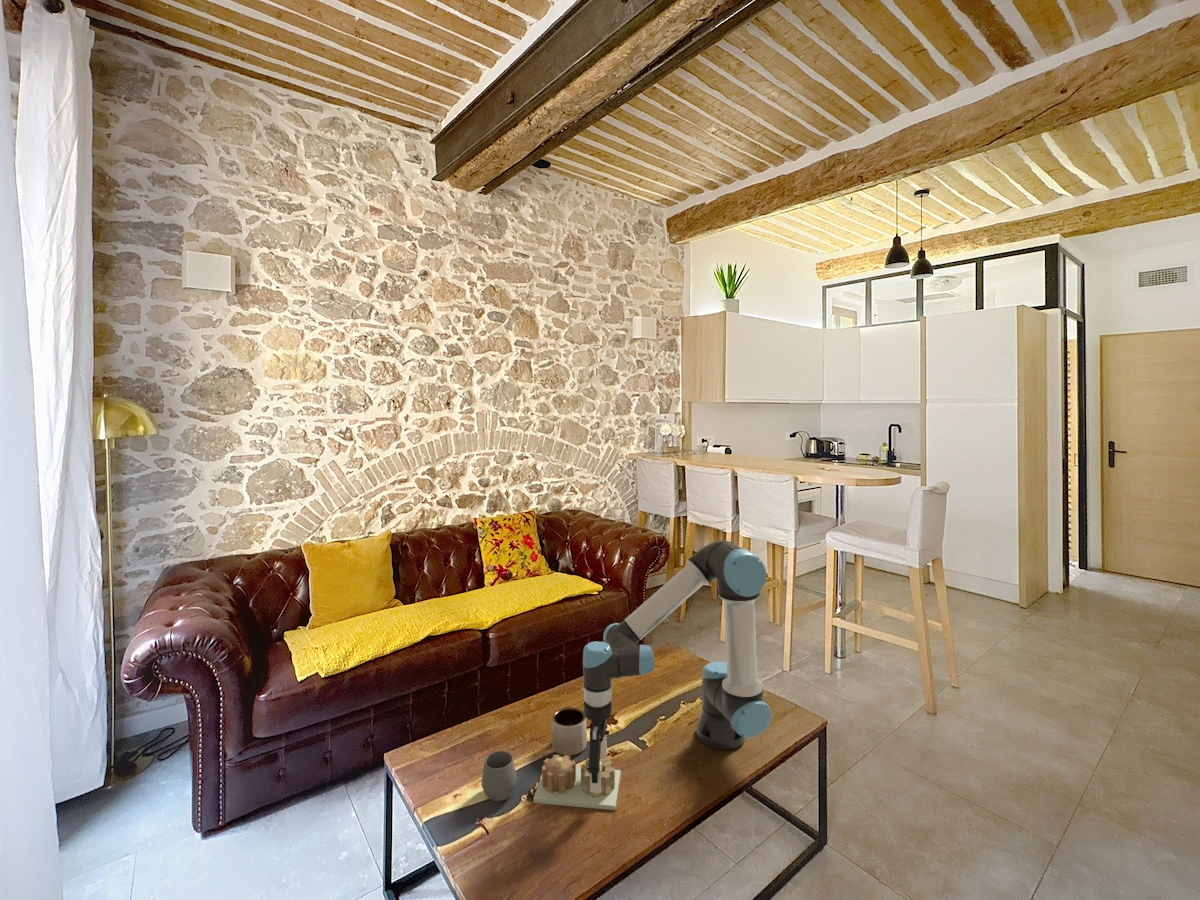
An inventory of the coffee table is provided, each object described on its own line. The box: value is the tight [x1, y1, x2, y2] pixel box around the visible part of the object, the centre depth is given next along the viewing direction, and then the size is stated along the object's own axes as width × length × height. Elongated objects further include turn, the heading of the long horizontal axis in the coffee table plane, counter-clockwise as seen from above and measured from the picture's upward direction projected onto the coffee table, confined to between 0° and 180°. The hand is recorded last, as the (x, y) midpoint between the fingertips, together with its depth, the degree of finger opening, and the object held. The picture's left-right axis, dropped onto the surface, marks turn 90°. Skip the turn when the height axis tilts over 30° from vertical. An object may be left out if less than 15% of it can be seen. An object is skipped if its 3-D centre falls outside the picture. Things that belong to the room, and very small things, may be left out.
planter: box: [551, 706, 588, 757], centre depth 169 cm, size 11×11×10 cm
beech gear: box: [580, 757, 616, 798], centre depth 149 cm, size 9×9×5 cm
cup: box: [481, 750, 517, 802], centre depth 148 cm, size 10×9×10 cm
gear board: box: [532, 753, 622, 811], centre depth 150 cm, size 22×14×8 cm, turn 82°
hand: (598, 774), depth 149 cm, fingers open, 13 cm apart
